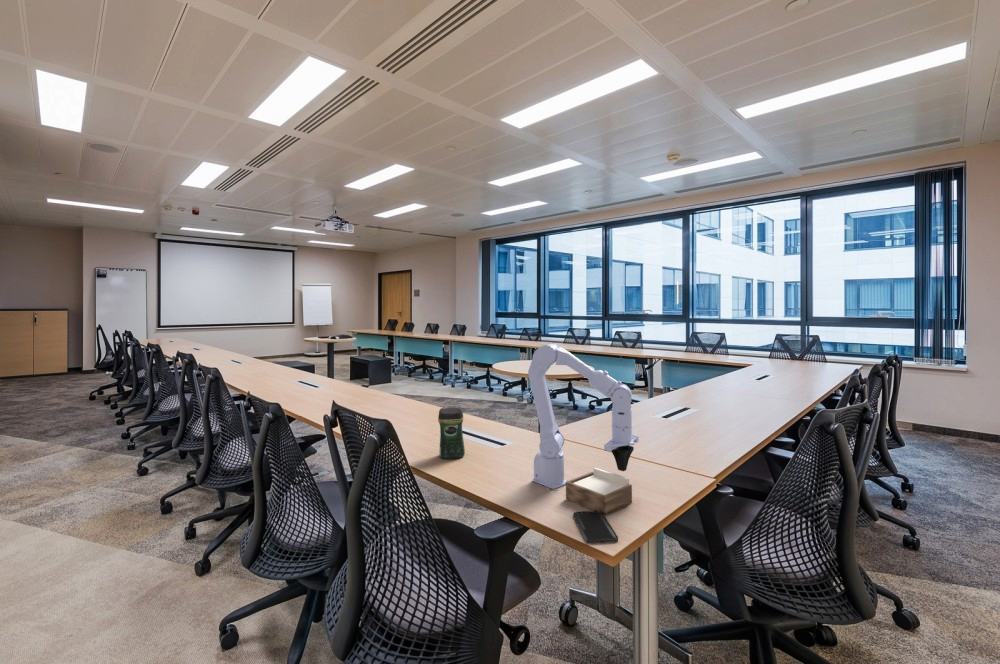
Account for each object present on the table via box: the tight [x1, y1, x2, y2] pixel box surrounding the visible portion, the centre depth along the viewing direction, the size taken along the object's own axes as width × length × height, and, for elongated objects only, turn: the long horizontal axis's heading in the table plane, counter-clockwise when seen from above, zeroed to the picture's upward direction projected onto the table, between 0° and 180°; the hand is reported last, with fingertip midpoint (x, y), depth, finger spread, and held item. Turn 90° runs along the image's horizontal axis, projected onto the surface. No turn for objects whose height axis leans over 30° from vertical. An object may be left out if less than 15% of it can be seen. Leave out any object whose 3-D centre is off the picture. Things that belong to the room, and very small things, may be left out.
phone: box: [572, 510, 619, 545], centre depth 111 cm, size 8×1×15 cm
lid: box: [574, 467, 630, 495], centre depth 127 cm, size 12×11×3 cm
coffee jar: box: [437, 407, 466, 460], centre depth 169 cm, size 10×8×19 cm
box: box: [565, 471, 633, 516], centre depth 127 cm, size 14×12×5 cm
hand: (621, 470), depth 134 cm, fingers closed
